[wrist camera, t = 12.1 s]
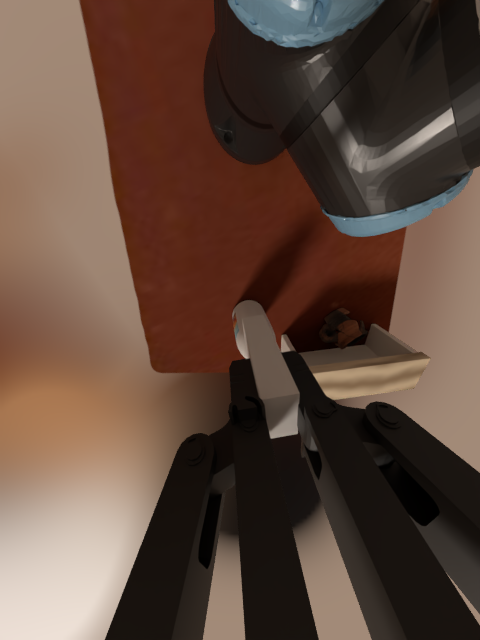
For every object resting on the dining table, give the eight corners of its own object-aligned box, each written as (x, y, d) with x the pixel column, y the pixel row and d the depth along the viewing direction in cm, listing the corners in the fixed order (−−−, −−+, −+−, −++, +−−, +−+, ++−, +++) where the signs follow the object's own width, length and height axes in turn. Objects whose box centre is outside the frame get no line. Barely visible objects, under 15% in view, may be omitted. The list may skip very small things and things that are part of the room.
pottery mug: (353, 300, 47) (379, 325, 43) (338, 321, 55) (358, 343, 51) (314, 316, 45) (338, 344, 40) (304, 336, 52) (323, 361, 48)
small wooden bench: (281, 333, 49) (304, 374, 36) (375, 322, 50) (430, 358, 37) (280, 359, 53) (300, 404, 40) (367, 348, 55) (413, 388, 42)
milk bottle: (237, 295, 43) (250, 348, 25) (267, 303, 44) (299, 357, 27) (228, 323, 46) (234, 387, 29) (257, 329, 48) (279, 393, 30)
